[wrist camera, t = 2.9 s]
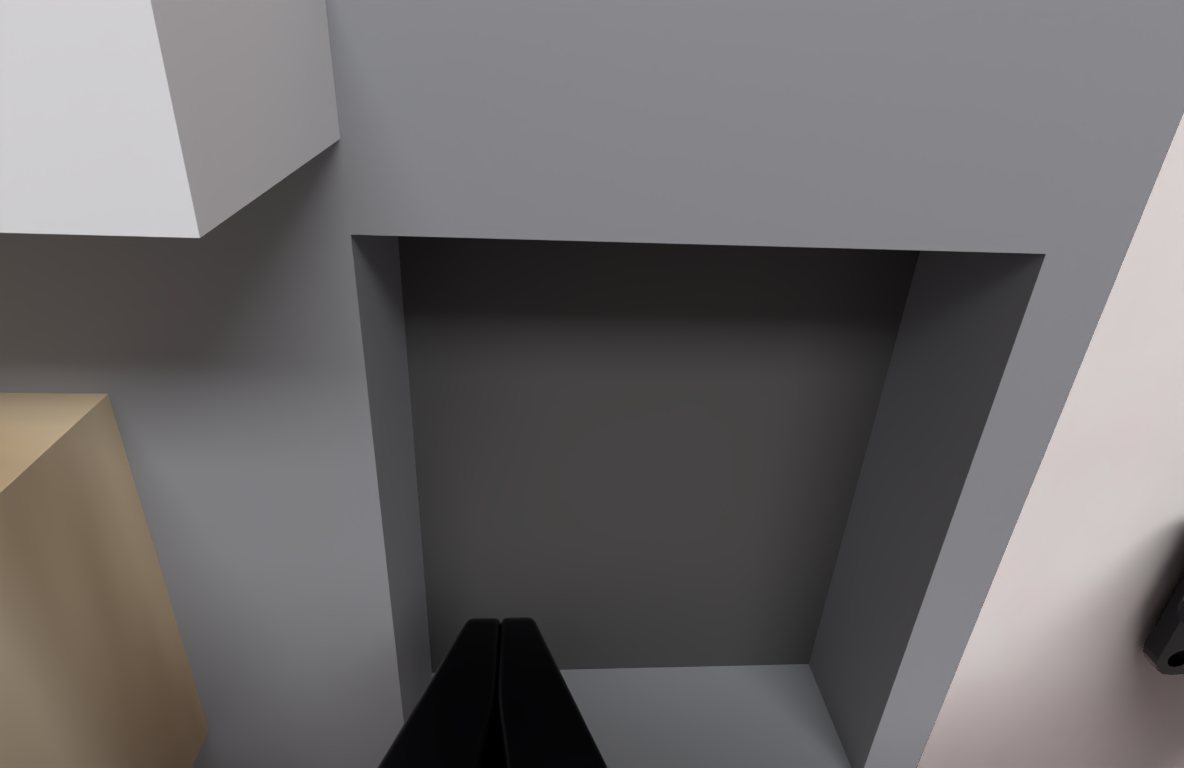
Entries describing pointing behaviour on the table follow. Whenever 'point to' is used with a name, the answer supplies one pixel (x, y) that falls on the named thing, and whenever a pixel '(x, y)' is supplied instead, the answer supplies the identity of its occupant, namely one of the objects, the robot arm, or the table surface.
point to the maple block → (84, 600)
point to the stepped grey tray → (576, 336)
